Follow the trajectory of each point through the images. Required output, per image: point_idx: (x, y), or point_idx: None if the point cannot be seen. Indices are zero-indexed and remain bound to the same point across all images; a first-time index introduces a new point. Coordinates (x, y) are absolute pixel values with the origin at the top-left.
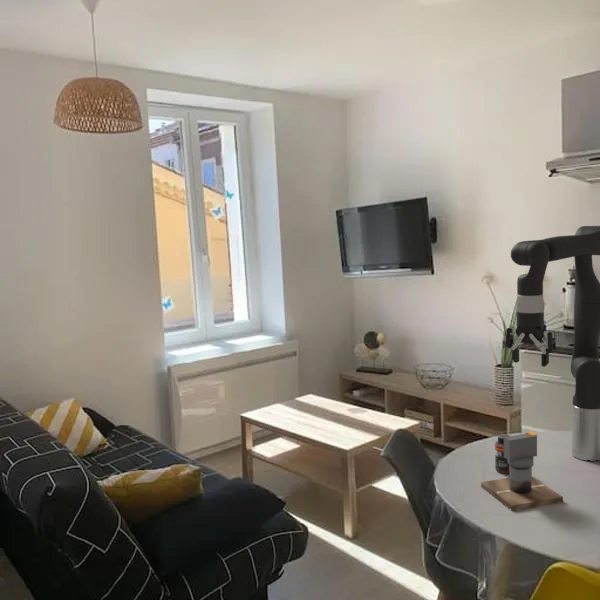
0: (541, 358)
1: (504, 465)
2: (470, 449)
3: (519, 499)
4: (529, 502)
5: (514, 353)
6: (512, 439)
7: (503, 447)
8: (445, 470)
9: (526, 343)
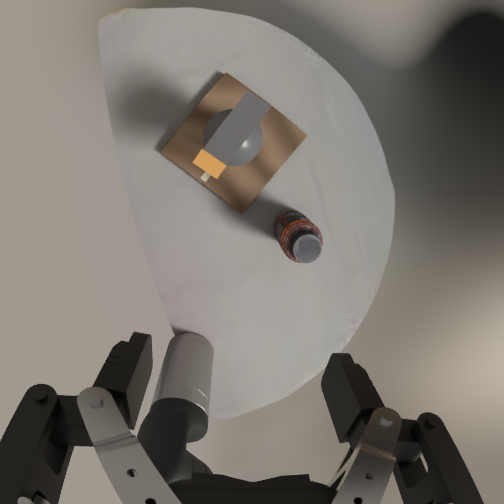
0: (135, 368)
1: (290, 214)
2: (368, 285)
3: (222, 100)
4: (203, 98)
5: (363, 392)
6: (243, 100)
7: (299, 223)
8: (380, 175)
9: (277, 482)
